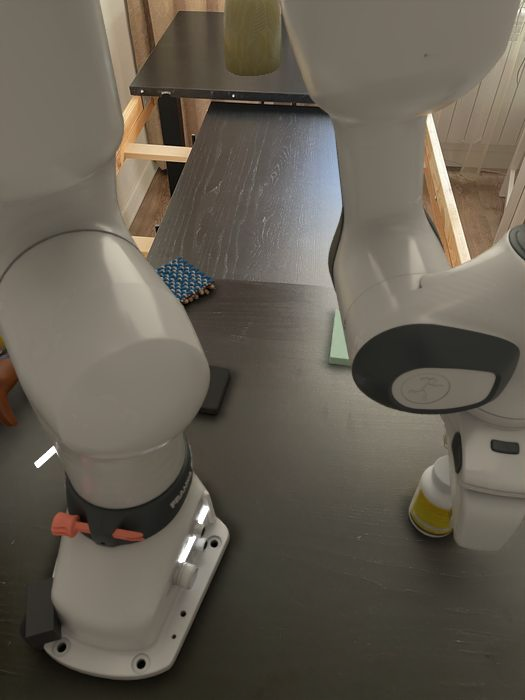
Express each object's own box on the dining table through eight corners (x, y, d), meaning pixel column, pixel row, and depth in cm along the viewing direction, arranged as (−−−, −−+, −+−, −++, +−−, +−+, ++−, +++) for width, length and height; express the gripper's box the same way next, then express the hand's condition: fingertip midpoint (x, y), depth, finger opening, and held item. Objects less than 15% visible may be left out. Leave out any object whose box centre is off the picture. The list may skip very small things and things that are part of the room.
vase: (213, 78, 165) (207, -27, 146) (249, 64, 174) (248, -36, 155) (255, 92, 157) (255, -18, 138) (291, 76, 167) (295, -28, 147)
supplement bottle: (456, 543, 60) (482, 498, 53) (407, 533, 61) (426, 489, 54) (454, 500, 64) (478, 453, 57) (408, 492, 64) (426, 445, 58)
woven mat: (131, 289, 92) (129, 279, 90) (180, 263, 97) (178, 254, 96) (168, 317, 86) (167, 308, 85) (217, 289, 92) (217, 279, 90)
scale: (430, 382, 77) (435, 368, 75) (328, 369, 79) (330, 355, 77) (426, 326, 85) (431, 312, 83) (334, 315, 87) (336, 301, 85)
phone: (216, 409, 72) (111, 391, 74) (216, 415, 72) (113, 397, 75) (230, 368, 77) (132, 352, 79) (231, 374, 78) (134, 358, 80)
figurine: (61, 431, 65) (156, 285, 86) (5, 373, 59) (121, 232, 80) (-44, 442, 74) (65, 308, 95) (-100, 393, 69) (28, 262, 89)
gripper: (447, 316, 54) (420, 401, 64) (464, 496, 40) (426, 569, 50) (512, 322, 53) (475, 408, 63) (552, 509, 39) (496, 581, 49)
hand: (453, 481), depth 57 cm, fingers open, 8 cm apart
